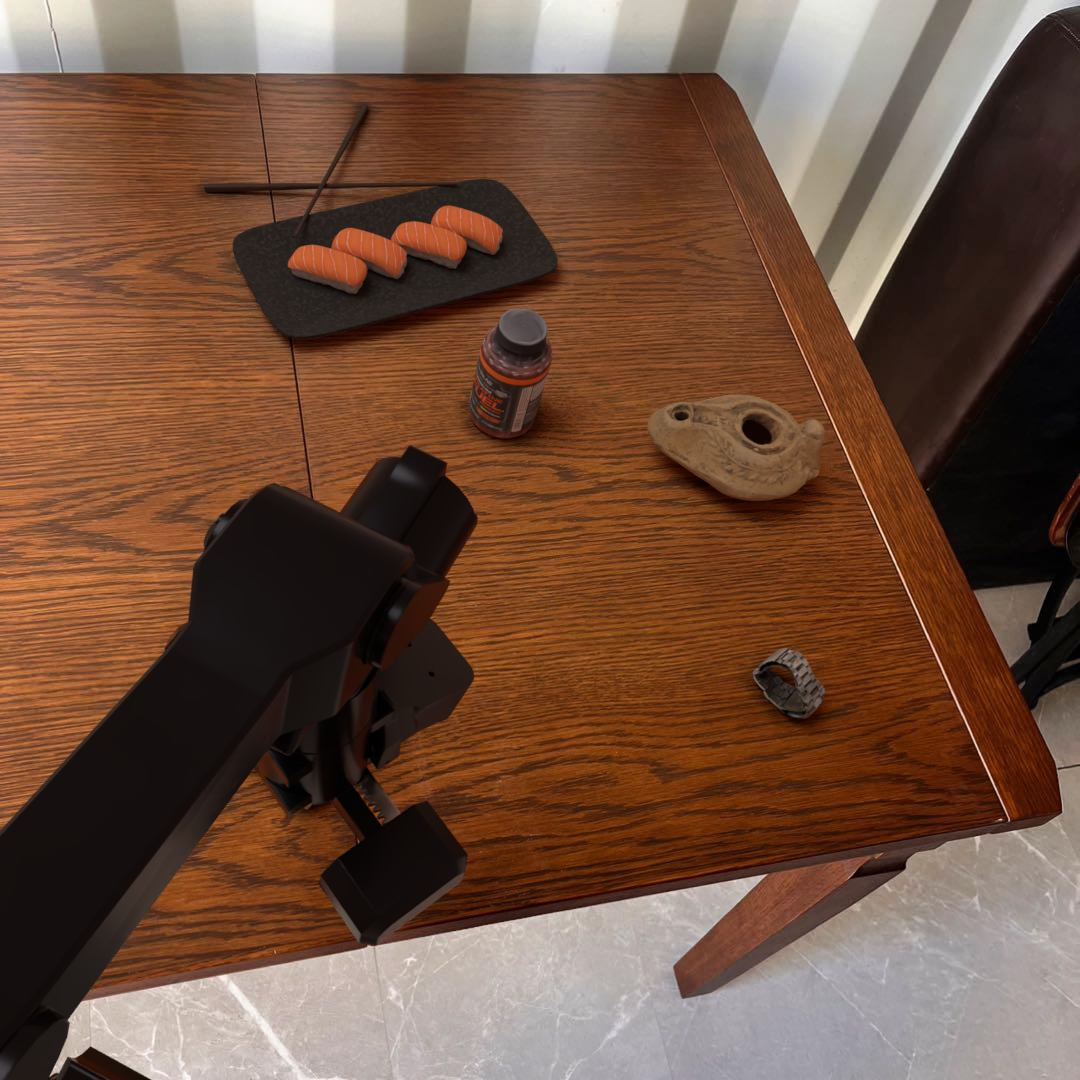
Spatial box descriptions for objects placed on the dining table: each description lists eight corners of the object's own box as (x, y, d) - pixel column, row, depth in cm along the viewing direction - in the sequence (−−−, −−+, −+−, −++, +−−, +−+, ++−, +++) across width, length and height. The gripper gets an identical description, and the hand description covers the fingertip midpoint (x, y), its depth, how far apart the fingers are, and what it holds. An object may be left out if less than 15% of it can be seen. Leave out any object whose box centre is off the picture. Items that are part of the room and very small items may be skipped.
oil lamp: (632, 415, 98) (656, 355, 91) (788, 424, 101) (821, 366, 94) (648, 516, 92) (675, 459, 86) (813, 522, 95) (851, 467, 88)
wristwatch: (761, 712, 85) (813, 722, 81) (743, 655, 84) (796, 662, 80) (783, 692, 87) (836, 701, 83) (767, 636, 86) (820, 642, 82)
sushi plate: (282, 360, 94) (282, 329, 91) (164, 143, 106) (160, 109, 103) (566, 283, 106) (574, 253, 103) (430, 95, 118) (433, 64, 115)
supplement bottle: (453, 412, 95) (469, 320, 85) (498, 378, 98) (518, 286, 88) (504, 453, 93) (526, 364, 84) (548, 417, 96) (574, 328, 87)
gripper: (579, 756, 49) (522, 859, 62) (346, 473, 55) (338, 620, 68) (375, 907, 44) (359, 985, 57) (143, 576, 50) (176, 714, 63)
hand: (311, 811), depth 61 cm, fingers open, 9 cm apart
